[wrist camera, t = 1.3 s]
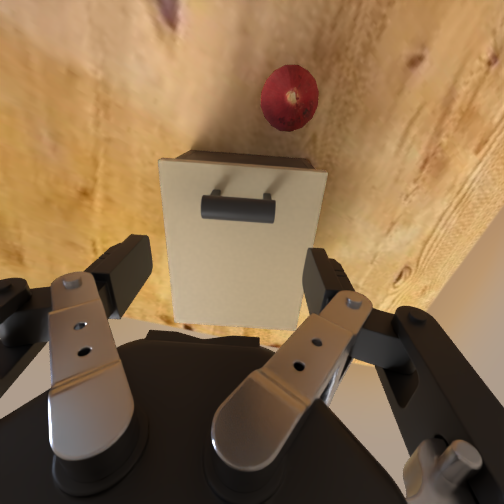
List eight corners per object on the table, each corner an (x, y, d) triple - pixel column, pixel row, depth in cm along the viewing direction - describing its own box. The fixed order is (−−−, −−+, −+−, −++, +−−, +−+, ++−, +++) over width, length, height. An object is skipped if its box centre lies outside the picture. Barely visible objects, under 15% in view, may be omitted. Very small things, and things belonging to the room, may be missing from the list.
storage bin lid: (162, 157, 23) (132, 170, 18) (325, 169, 23) (344, 186, 18) (177, 315, 32) (160, 356, 26) (294, 323, 32) (301, 365, 27)
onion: (321, 102, 29) (341, 99, 22) (283, 140, 31) (290, 148, 24) (288, 57, 27) (298, 38, 20) (250, 100, 30) (247, 97, 22)
